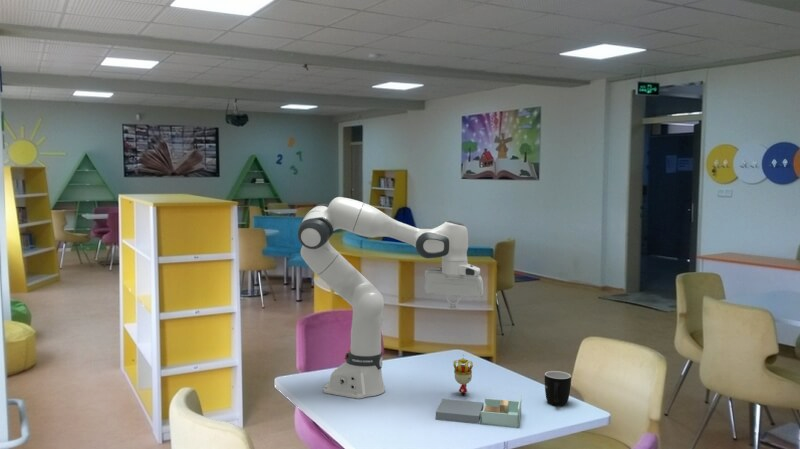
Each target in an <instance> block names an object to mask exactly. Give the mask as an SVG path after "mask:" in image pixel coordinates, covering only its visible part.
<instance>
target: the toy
mask: <svg viewBox="0 0 800 449" xmlns="http://www.w3.org/2000/svg"><path fill="white" fill-rule="evenodd" d="M462 356H463V357H462V358H460V359H455V360H454V361H453V363H452V364H453V368H454V371H453V373H454V379H455V381H456V382H457V384H459V385H460V387H459V389H458V392H459V393H460V397H465V396H466V394H467V393H468V389H467V385H468V384H469V383H470V382H471V381H472V378H473V374H472V373H473V372H472V369H473V366H474V364H473V361H472V360H470V359H469V360H468V359H467V358H465V357H464V356H465V354H464V353H463V354H462ZM469 365H470V366H469Z"/></svg>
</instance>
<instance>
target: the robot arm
mask: <svg viewBox="0 0 800 449" xmlns="http://www.w3.org/2000/svg"><path fill="white" fill-rule="evenodd" d="M336 230H344V231H347V232H349V233H352V234H355V235H358V236H360V237H361V236H362V237H366V238H379V237H381V238H382V237H386V238H391V239H395V240H398V241H400V242H403V243H406V244H409V245H411V246H413V247H414V248H415V250H416V252H417V253H418V255H420V256H421V257H423V258H424V259H428V260H430V259H431V260H433V259H435V258H441V267H433V266H429V267H427V268H425V271H424V278H425V282H424V288H423V289H424V292H425V294H427V295H428V294H429V295H441V296H445V299H446V301H447V303H448V309H458V307H459V303H460V301H461V299H462V297H469V298H470V297H471V298H481V297H482V296H483V295H484V281H483V277H482V276H481V275H480V274H481V268H480V267H477V266H475V265H473V264H470V263H468V262H469V261H468V249H469V232H468V228H467V226H466V225H465V224H463V223H460V222H457V221H452V220H446V221H445V222H444V223H442V224H441V225H439V226H436V227H422V228H421V227H415V226H412V225H410V224H407V223H404V222H402V221H398V220H397V219H395V218H392V217H390V215H387V214H386V213H384V212H383V211H381V210H380V209H378V208H376V207H374V206H373V205H371V204H368V203H365V202H362V201H360V200H356V199H353V198H348V197H342V196H337V197H335V198H333V199H332V200H331V201H330V202H329V203H328V204H327V203H318V204H316V205H314V206H313V207H311V208H310V210H309V211H308V212H307V213H306V214H305V216H304V217H303V219H302V221H301V223H300V224H299V227H298V229H297V238H298V241H299V243H300V244H301V245H302V246H301V248H300V256H301V258H302V260H304V262H305V264H306V265H307V266H308V267H309V268H310V269H311V271H312V272H313V273H314V274H315V275H317V277H319V278H320V279H321V281H323V282H324V283H325V284H326V285H327V286H328V287H329V288H330V289H332V291H334V292H335V293H336V294H337V295H338V296H340V297H341V298H342V299H343V300H344V301H346V303H348V304H349V305H350V306H351V307H352V318H351V319H352V320H351V329H350V349H349V350H348V351H347V352H346V353H345V355H344V358H343V359H344V360H345V361H344V362H343V363H341V365H339V366H337V367H336V368H335V369H334V370H333V371H332V372H331V374H330V377H329V381H328V382H327V383H326V384H325V385H324V386H323V388H322V391H323V393H324V394H329V395H336V396H342V397H347V398H352V399H358V400H359V399H364V398H368V397H374V396H379V395H382V394H384V392H385V391H386V389H385V386H384V380H383V372H382V368H383V352H382V327H383V321H384V320H383V319H384V309H385V300H384V299H385V298H384V296H383V294H382V293H381V292H380V291H379V290H378V289H377V287H376V286H375V285H373V283H371V281H370V280H368V279H367V278H366V277H365V276H364V275H363V274H362V273H361V272H360V271H359V270H358V269H357V268H356V267H355V266H354V265H353V264H351V263H350V261H348V260H347V259H346V258H345V257H344V256H343V255H342V254H341V253H340V252H339V251H338V250H336V248H334V246H332V244H331V243H330V238H331V237H332V236H333V234H334V232H335V231H336ZM452 296H453V297H454V296H456V302H452V301H451V297H452Z"/></svg>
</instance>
